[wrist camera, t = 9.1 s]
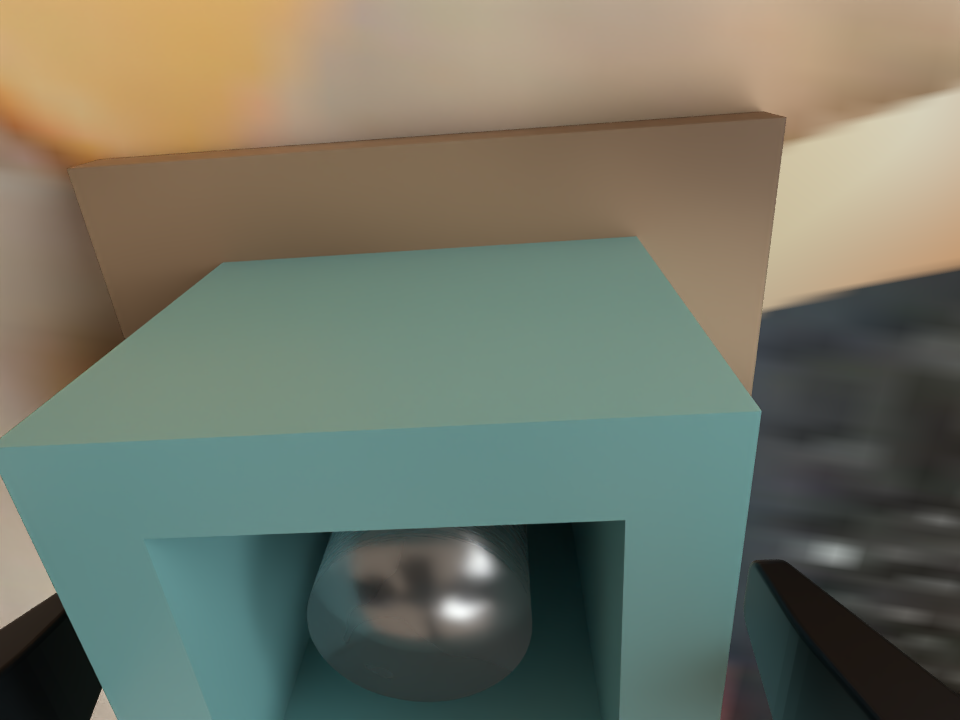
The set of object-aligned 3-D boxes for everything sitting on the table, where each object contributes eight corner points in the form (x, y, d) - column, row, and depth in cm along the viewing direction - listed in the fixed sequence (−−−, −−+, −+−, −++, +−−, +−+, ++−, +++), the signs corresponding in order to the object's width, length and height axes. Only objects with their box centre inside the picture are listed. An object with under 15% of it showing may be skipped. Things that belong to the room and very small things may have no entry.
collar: (625, 560, 15) (700, 865, 9) (301, 571, 15) (189, 869, 10) (636, 236, 11) (761, 411, 6) (222, 262, 12) (-12, 448, 6)
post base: (711, 583, 16) (817, 855, 11) (238, 599, 17) (114, 862, 11) (764, 111, 11) (1004, 173, 6) (99, 159, 12) (-229, 254, 7)
